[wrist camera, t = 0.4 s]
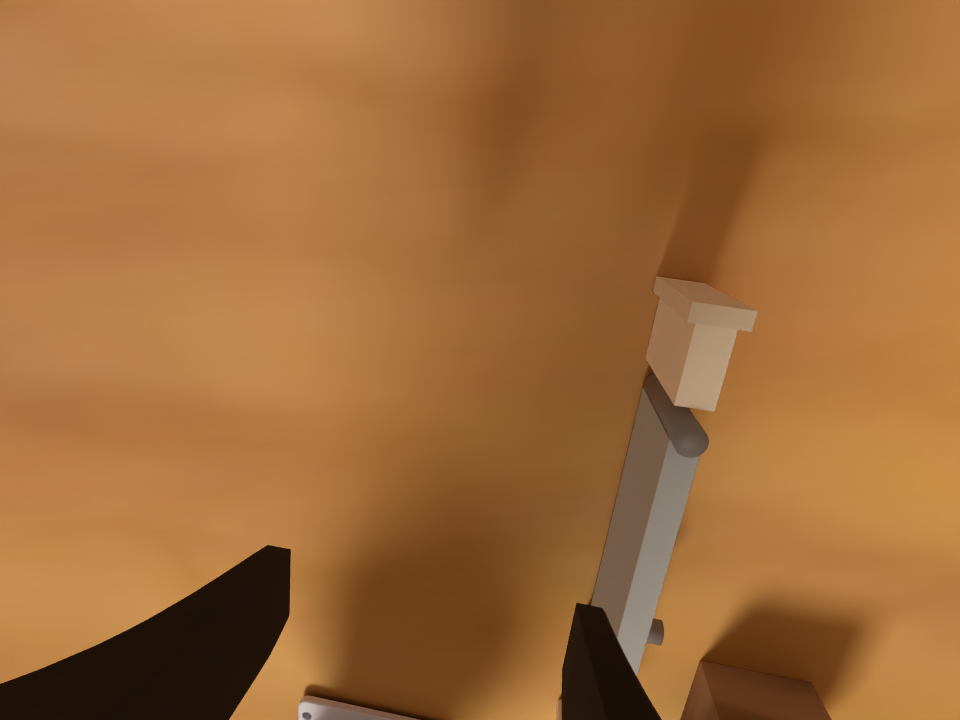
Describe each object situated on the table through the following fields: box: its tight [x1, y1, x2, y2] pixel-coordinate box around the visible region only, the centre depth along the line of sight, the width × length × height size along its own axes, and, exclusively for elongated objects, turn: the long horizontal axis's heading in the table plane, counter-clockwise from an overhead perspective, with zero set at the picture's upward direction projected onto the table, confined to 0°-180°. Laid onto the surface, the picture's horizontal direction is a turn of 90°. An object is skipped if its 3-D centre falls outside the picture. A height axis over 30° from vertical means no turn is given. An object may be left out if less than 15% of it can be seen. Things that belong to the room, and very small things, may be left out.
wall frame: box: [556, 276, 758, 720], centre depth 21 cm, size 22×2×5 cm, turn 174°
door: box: [591, 373, 709, 676], centre depth 20 cm, size 11×2×5 cm, turn 174°
